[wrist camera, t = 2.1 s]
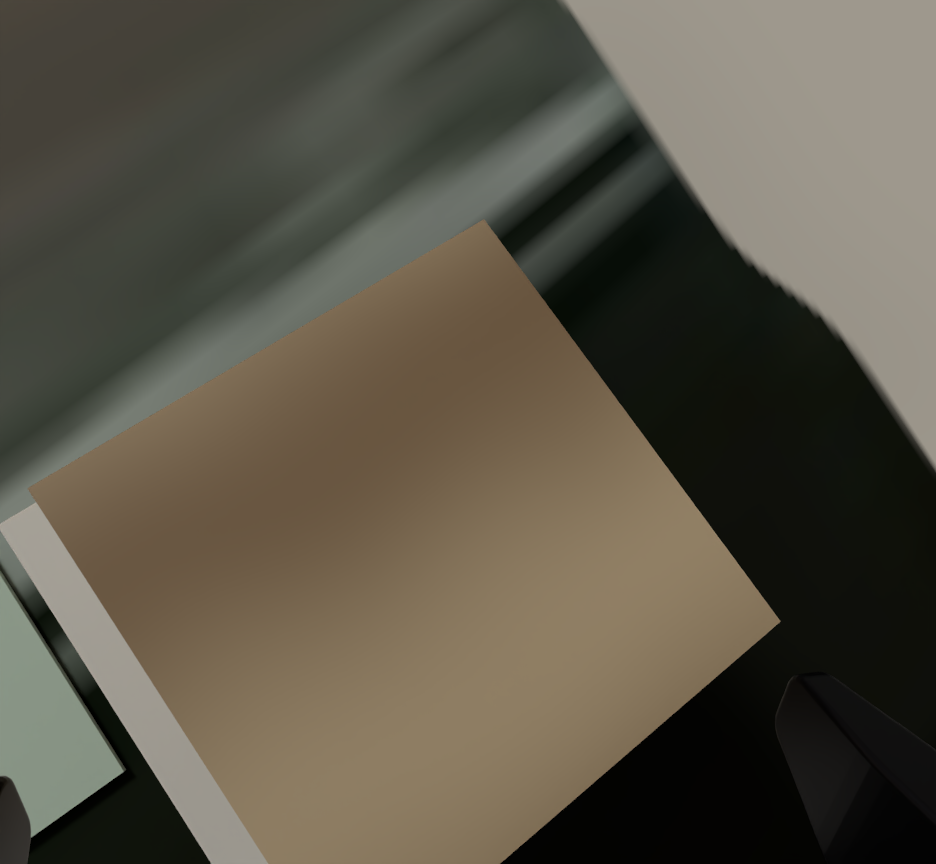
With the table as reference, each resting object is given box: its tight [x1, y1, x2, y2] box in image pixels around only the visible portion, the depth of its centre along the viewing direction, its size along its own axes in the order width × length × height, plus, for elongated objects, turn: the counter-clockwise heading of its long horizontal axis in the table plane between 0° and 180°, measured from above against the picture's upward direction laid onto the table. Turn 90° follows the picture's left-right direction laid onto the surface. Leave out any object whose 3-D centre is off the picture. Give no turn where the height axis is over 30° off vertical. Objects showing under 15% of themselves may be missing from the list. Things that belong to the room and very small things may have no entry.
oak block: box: [28, 220, 780, 864], centre depth 14 cm, size 6×6×10 cm
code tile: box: [0, 502, 268, 864], centre depth 19 cm, size 12×12×1 cm
